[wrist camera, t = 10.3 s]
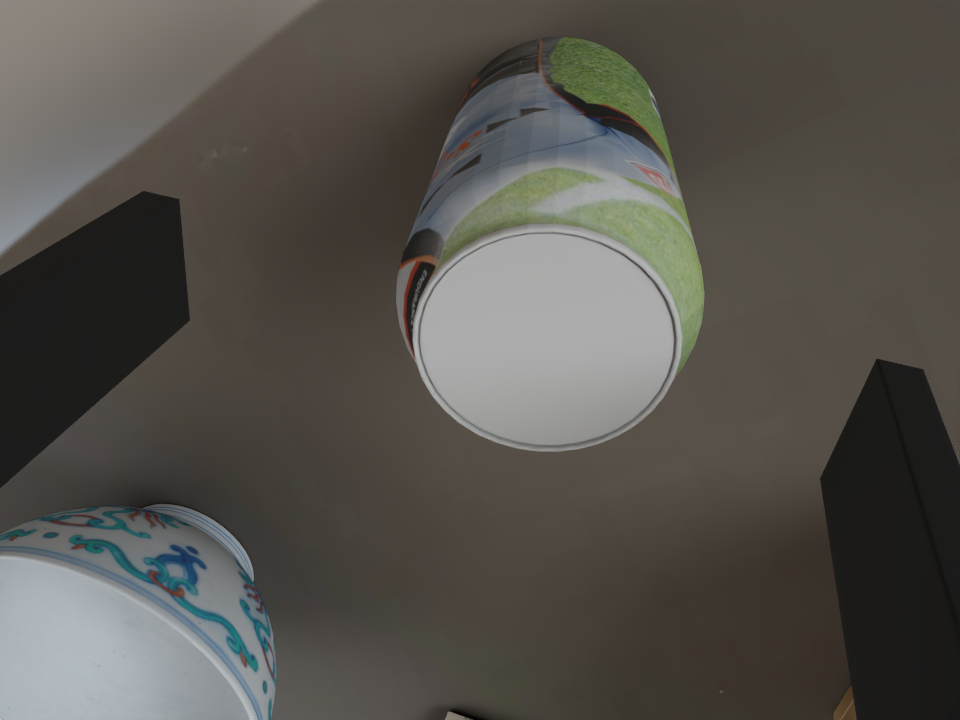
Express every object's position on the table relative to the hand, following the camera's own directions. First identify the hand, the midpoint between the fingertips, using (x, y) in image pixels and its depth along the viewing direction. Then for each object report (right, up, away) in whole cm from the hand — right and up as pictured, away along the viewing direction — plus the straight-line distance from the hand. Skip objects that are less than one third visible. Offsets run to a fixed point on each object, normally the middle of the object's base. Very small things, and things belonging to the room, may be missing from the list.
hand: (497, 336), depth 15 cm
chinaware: (-14, -10, +25) cm, 30 cm away
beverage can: (+3, +6, +9) cm, 12 cm away
